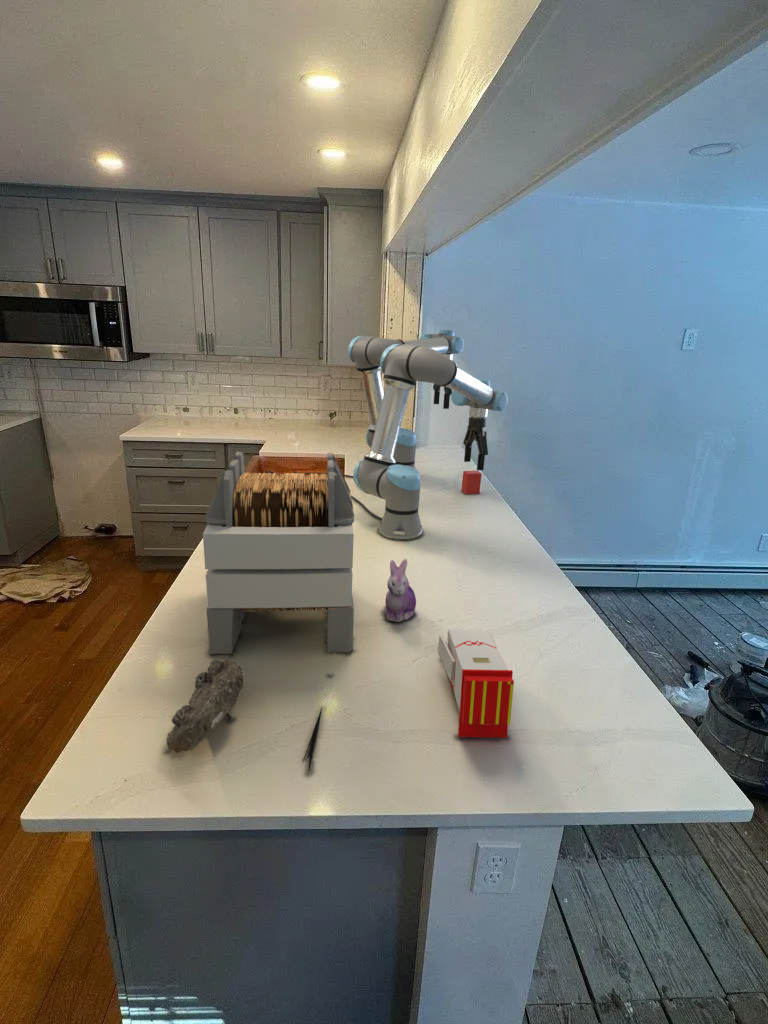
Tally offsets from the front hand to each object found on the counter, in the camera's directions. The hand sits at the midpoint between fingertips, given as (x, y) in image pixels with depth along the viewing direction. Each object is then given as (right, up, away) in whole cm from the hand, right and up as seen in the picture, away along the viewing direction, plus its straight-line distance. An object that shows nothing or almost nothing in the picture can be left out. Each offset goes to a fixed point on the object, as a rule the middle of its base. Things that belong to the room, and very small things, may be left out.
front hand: (473, 465), depth 245 cm
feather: (-51, -60, -137) cm, 158 cm away
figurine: (-35, -47, -98) cm, 114 cm away
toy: (-21, -58, -127) cm, 141 cm away
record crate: (-64, -47, -102) cm, 129 cm away
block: (-1, -11, +4) cm, 12 cm away
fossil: (-71, -59, -137) cm, 166 cm away
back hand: (-10, +33, +39) cm, 52 cm away
